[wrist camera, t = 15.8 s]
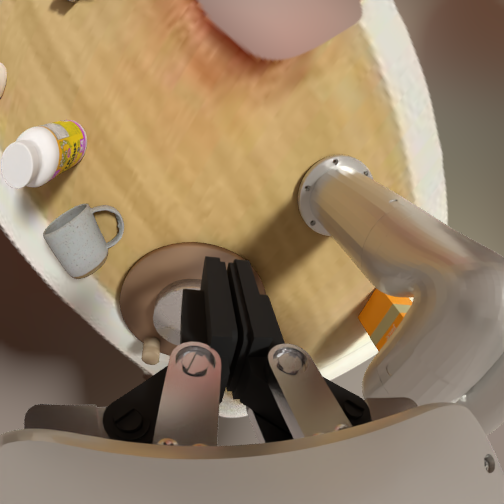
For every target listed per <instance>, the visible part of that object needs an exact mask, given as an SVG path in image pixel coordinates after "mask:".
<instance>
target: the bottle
mask: <svg viewBox="0 0 504 504" xmlns="http://www.w3.org/2000/svg"><path fill="white" fill-rule="evenodd" d="M6 79H7V73H6V68H5V66H4V64H2V63H0V98H1V96H2V94H3V92H4V89H5V86H6Z"/></svg>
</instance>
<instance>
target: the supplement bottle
mask: <svg viewBox="0 0 504 504" xmlns="http://www.w3.org/2000/svg"><path fill="white" fill-rule="evenodd" d="M86 148H87V136H86V133H85V130H84V129H83V127H82V126H81V125H80V124H79V123H77V122H75V121H73V120H64V121H59V122H54V123H49V124H45V125H41V126H36V127H32V128H29V129H27V130H26V131H24V132H23V133H22V134H21V135H20V136H19V137H18V138H17V140H16V142H14V143H12V144H10V145H9V146H8V147H7V148H6V149H5V151H4V153H3V155H2V159H1V172H2V176H3V178H4V180H5V182H6V183H7V184H8V185H9V186H10V187H12V188H15V189H20V188H23V187H25V186H28V187H39V186H41V185H43V184H45V183H47V182H48V181H50V180H51V179H53V178H54V177H56V176H58V175H59V174H61V173H63V172H64V171H66V170H68V169H69V168H71V167H73V166H74V165H76V164H77V163H78V162H79V161H80V160H81V159H82V158H83V156H84V154H85V151H86Z"/></svg>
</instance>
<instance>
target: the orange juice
mask: <svg viewBox="0 0 504 504" xmlns="http://www.w3.org/2000/svg"><path fill="white" fill-rule="evenodd" d="M411 305H412V301H411V300H410V299H409V298H408V297H394V296H390V295H387V294H385V293H383V292H381V291H379V290H378V289H377V288H376V289H375V291H374V292H373V294H372V295H371V297H370V299H369V300H368V302H367V304H366V305H365V307H364V308H363V310H362V311H361V313H360V315H359V316H358V319H359V320H360V322H361V323H362V325H363V327H364V328H365V330H366V331H367V333H368V335H369V336H370V338H371V340H372V342H373V343H374V345H375V346H376V348H377V349H378V351H380V349H381V348H382V347H383V345H384V344H385V343H386V342H387V340H388V339H389V338H390V336H391V335H392V334H393V332H394V331H395V330H396V328H397V327H398V326H399V324H400V323H401V321H402V320H403V318H404V316H405V315H406V313H407V311H408V310H409V308H410V307H411Z"/></svg>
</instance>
